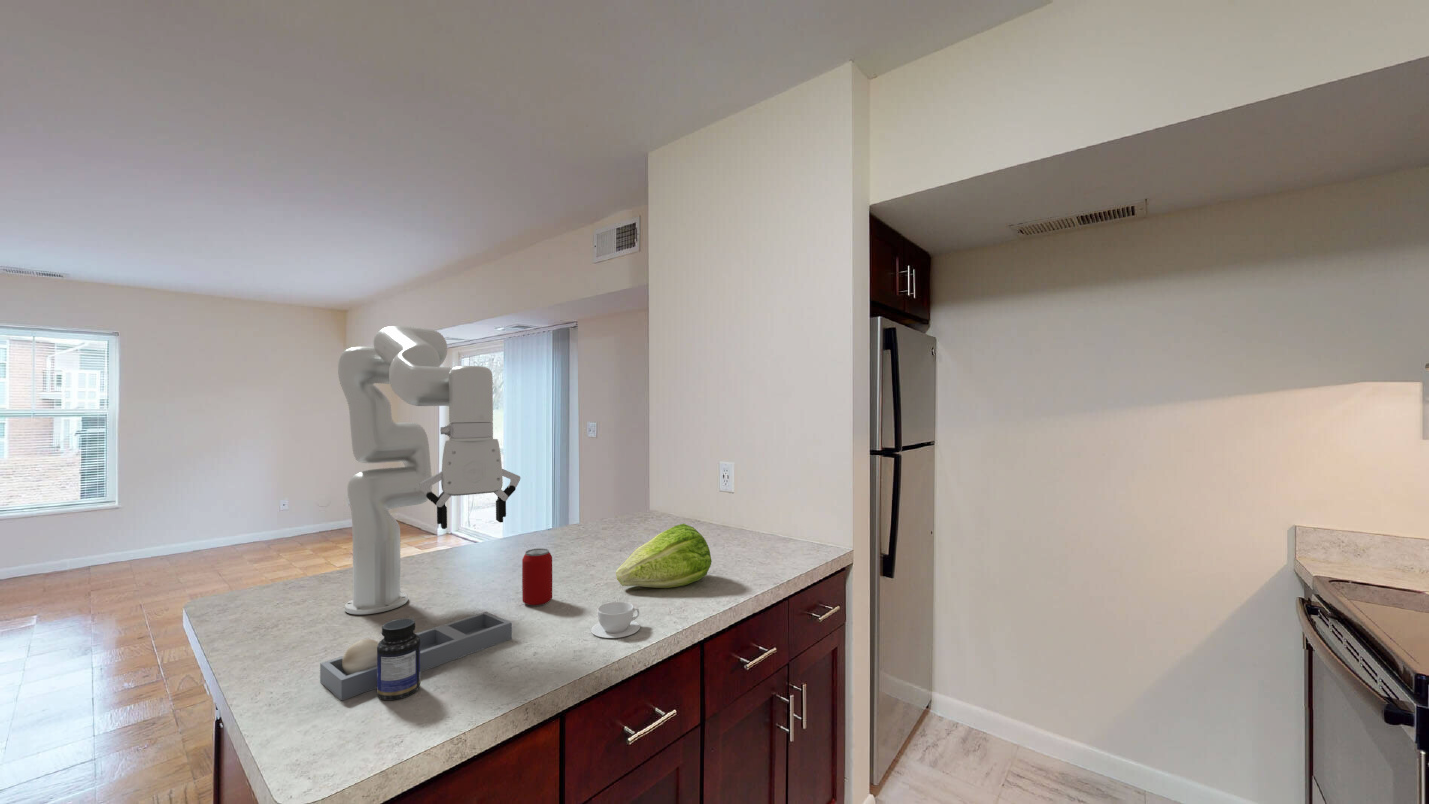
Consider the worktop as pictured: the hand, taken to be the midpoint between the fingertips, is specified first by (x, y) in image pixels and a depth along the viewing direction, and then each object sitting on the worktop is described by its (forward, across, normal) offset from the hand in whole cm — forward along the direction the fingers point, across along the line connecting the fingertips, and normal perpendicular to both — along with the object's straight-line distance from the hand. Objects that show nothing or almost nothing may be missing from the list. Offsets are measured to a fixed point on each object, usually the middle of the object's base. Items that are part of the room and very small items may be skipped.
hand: (472, 524), depth 104 cm
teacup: (+25, +27, -3) cm, 37 cm away
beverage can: (+24, +17, +22) cm, 37 cm away
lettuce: (+24, +48, +18) cm, 57 cm away
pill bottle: (+24, -12, -8) cm, 28 cm away
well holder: (+24, -8, +3) cm, 26 cm away
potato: (+20, -17, 0) cm, 27 cm away
